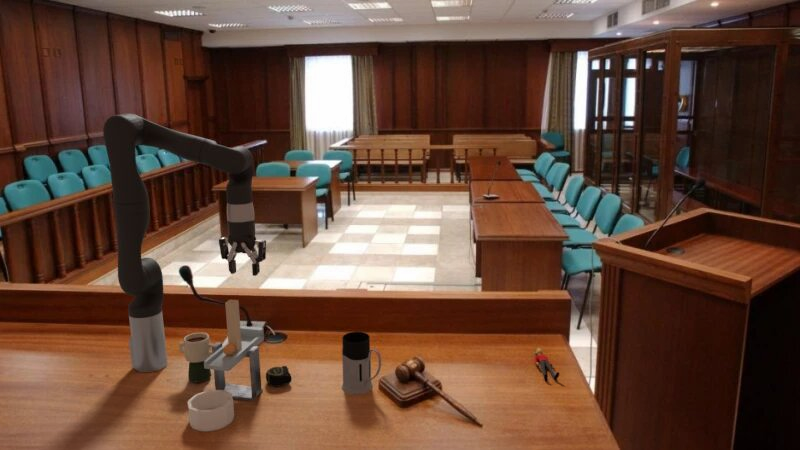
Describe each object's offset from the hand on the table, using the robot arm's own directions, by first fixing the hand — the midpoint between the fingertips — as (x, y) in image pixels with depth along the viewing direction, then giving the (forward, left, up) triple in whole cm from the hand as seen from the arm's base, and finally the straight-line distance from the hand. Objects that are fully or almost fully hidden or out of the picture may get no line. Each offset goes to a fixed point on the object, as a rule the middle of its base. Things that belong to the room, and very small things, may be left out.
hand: (244, 273), depth 183 cm
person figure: (+85, +21, -30) cm, 93 cm away
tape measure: (+12, -6, -30) cm, 33 cm away
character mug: (-11, -10, -30) cm, 33 cm away
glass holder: (+37, -5, -30) cm, 48 cm away
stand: (+4, -15, -30) cm, 33 cm away
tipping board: (+4, -15, -18) cm, 23 cm away
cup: (+4, -29, -30) cm, 42 cm away
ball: (+4, -18, -17) cm, 25 cm away
